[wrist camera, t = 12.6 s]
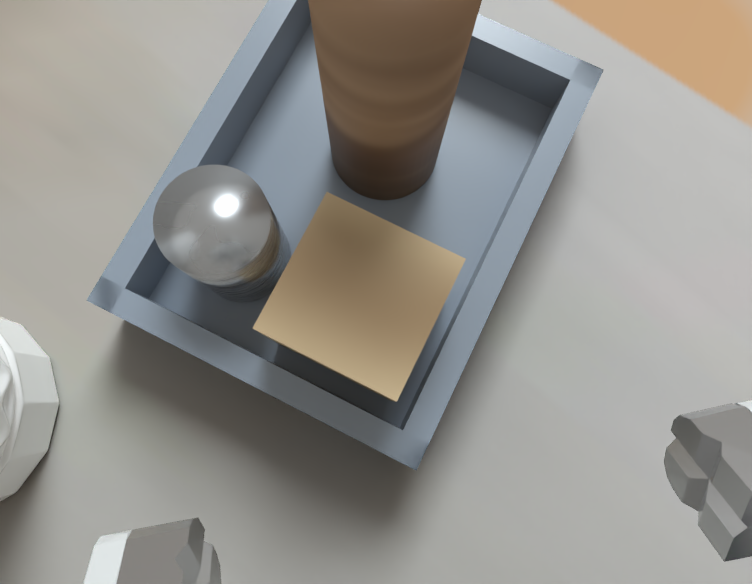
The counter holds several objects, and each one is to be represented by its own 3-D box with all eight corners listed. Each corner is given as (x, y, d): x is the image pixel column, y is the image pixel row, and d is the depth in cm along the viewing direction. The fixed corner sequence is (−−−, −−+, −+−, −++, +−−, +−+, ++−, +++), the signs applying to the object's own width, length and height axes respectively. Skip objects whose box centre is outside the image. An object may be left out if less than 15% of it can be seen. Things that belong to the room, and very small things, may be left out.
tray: (409, 460, 18) (416, 470, 16) (124, 313, 19) (86, 300, 16) (574, 110, 20) (603, 69, 18) (314, -8, 21) (306, -63, 19)
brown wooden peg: (409, 217, 19) (438, 86, 11) (313, 172, 19) (273, 12, 11) (454, 127, 19) (512, -58, 12) (360, 84, 20) (354, -125, 12)
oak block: (390, 400, 18) (396, 401, 14) (278, 343, 18) (252, 328, 14) (445, 288, 18) (466, 259, 14) (336, 235, 19) (326, 191, 15)
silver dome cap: (263, 318, 18) (234, 296, 14) (182, 277, 18) (131, 244, 14) (307, 237, 19) (290, 195, 15) (227, 198, 19) (189, 146, 15)
